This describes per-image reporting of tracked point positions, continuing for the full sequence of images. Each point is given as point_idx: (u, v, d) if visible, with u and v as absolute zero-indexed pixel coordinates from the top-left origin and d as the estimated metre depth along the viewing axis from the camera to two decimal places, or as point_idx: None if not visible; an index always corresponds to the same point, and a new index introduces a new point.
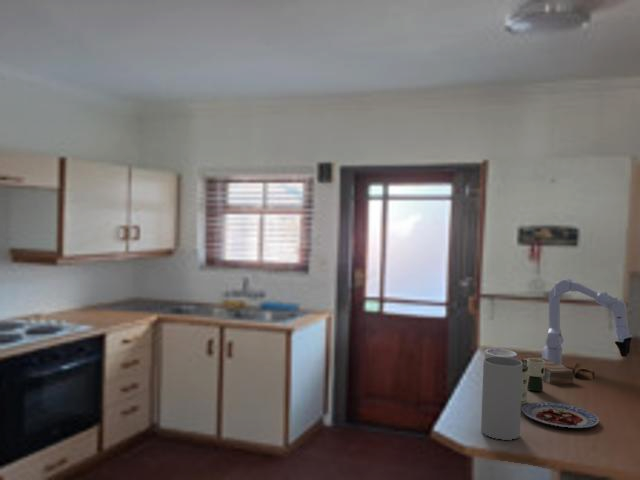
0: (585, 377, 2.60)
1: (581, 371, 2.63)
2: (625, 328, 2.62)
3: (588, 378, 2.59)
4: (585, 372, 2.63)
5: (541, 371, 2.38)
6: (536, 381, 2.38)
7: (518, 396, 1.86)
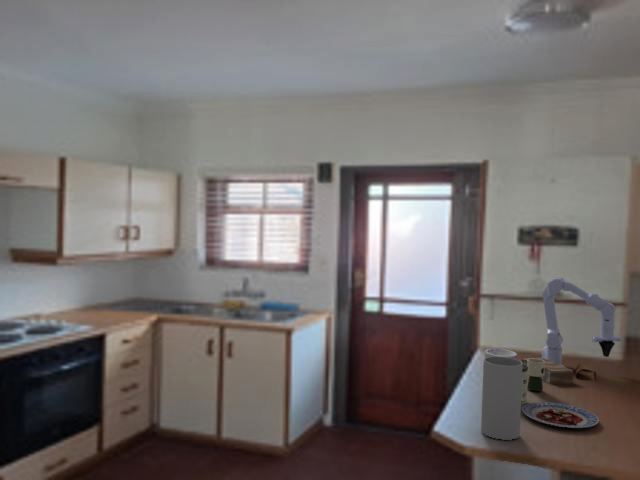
0: (586, 377, 2.60)
1: (582, 371, 2.63)
2: (606, 331, 2.68)
3: (590, 378, 2.59)
4: (586, 372, 2.63)
5: (541, 371, 2.38)
6: (536, 381, 2.38)
7: (518, 396, 1.86)
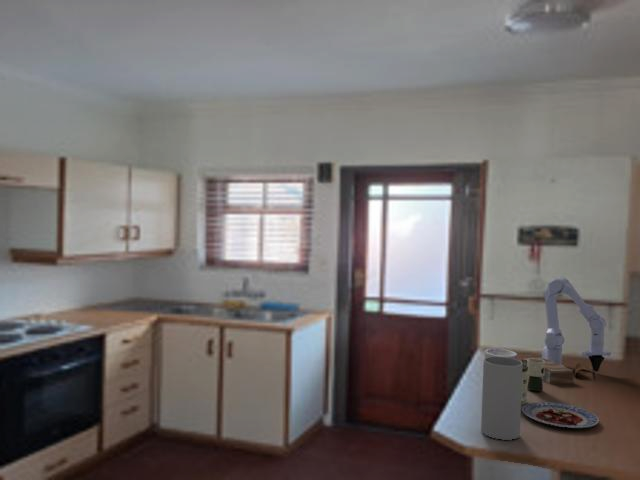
0: (585, 377, 2.60)
1: (581, 371, 2.63)
2: (596, 345, 2.67)
3: (589, 378, 2.59)
4: (585, 372, 2.63)
5: (541, 371, 2.38)
6: (536, 381, 2.38)
7: (518, 396, 1.86)
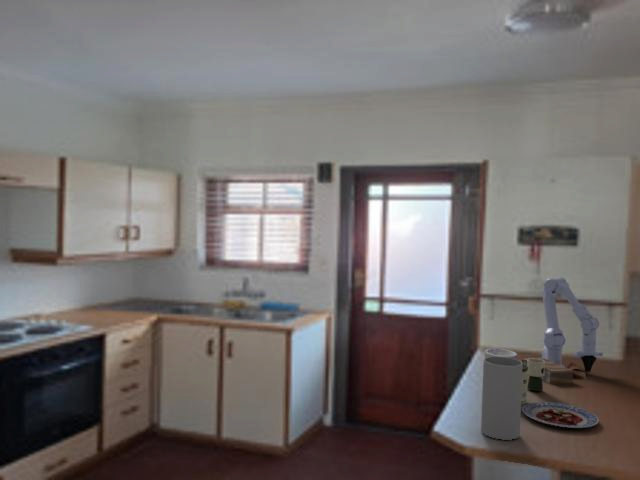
0: (578, 377, 2.60)
1: (574, 371, 2.63)
2: (588, 346, 2.65)
3: (582, 377, 2.60)
4: (578, 372, 2.64)
5: (541, 371, 2.38)
6: (536, 381, 2.38)
7: (518, 396, 1.86)
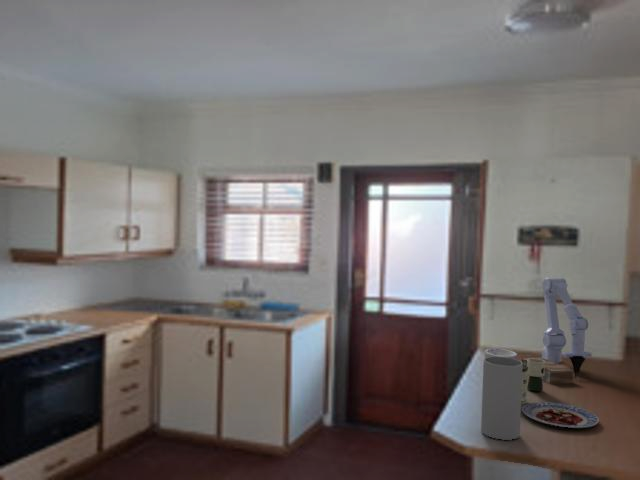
0: None
1: None
2: (576, 346, 2.64)
3: None
4: None
5: (541, 371, 2.38)
6: (536, 381, 2.38)
7: (518, 396, 1.86)
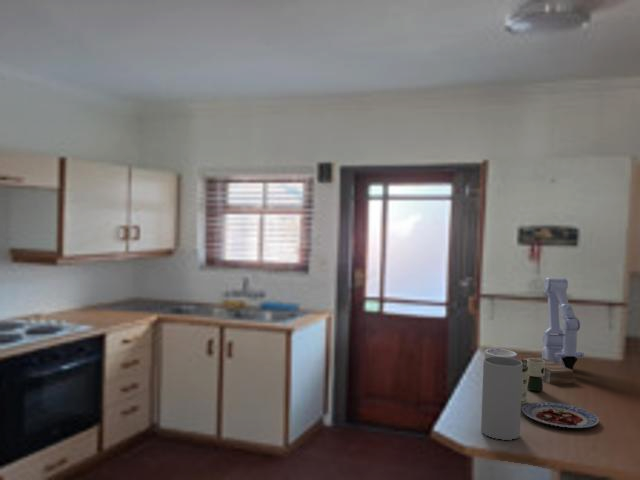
0: None
1: None
2: (568, 346, 2.63)
3: None
4: None
5: (541, 371, 2.38)
6: (536, 381, 2.38)
7: (518, 396, 1.86)
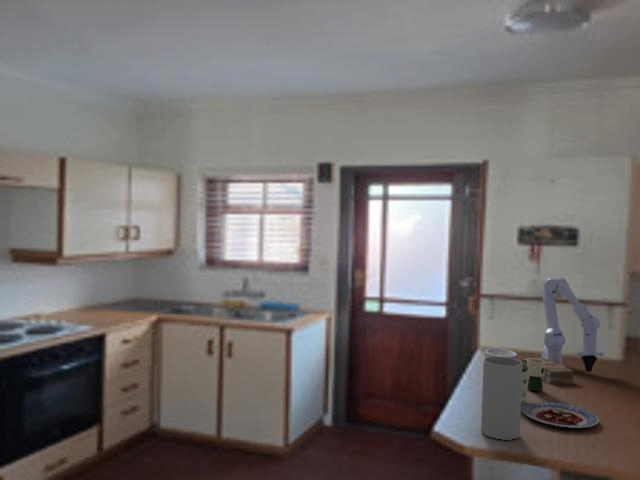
0: None
1: None
2: (588, 345, 2.66)
3: None
4: None
5: (541, 371, 2.38)
6: (536, 381, 2.38)
7: (518, 396, 1.86)
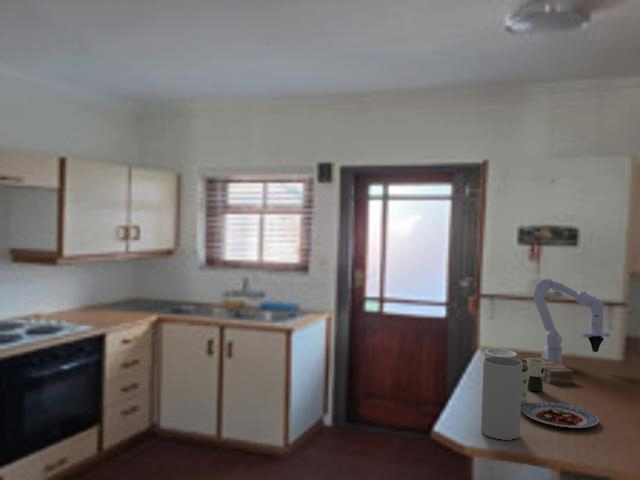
0: None
1: None
2: (595, 326, 2.72)
3: None
4: None
5: (541, 371, 2.38)
6: (536, 381, 2.38)
7: (518, 396, 1.86)
